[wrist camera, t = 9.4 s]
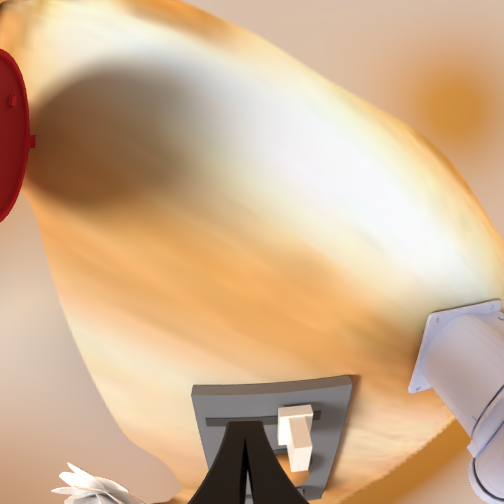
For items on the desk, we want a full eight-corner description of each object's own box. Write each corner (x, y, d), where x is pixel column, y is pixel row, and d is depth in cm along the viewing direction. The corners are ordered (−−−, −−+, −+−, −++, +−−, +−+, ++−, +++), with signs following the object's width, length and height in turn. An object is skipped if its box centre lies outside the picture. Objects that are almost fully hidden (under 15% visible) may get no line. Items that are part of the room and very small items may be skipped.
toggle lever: (310, 404, 20) (321, 443, 16) (306, 433, 20) (315, 470, 17) (278, 407, 19) (285, 447, 16) (277, 436, 20) (282, 474, 17)
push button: (308, 450, 22) (311, 465, 20) (304, 473, 23) (307, 486, 21) (259, 454, 21) (260, 470, 20) (259, 477, 22) (260, 491, 21)
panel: (348, 374, 21) (353, 384, 20) (319, 491, 26) (321, 499, 25) (193, 385, 21) (190, 396, 19) (219, 498, 26) (219, 506, 24)
